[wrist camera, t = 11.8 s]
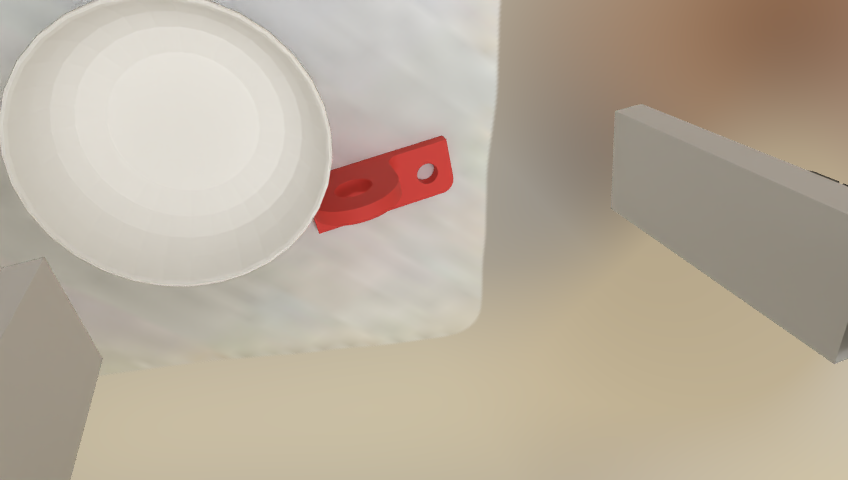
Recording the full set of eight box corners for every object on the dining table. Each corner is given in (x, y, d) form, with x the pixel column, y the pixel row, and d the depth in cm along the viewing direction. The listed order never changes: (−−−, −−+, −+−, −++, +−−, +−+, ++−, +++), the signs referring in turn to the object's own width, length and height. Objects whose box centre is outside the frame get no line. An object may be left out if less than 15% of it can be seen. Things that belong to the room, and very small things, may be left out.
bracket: (317, 227, 47) (333, 276, 40) (300, 179, 44) (315, 222, 38) (450, 183, 49) (487, 222, 42) (441, 135, 47) (478, 168, 40)
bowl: (343, 30, 40) (365, 47, 34) (288, 252, 47) (298, 300, 41) (41, -62, 33) (2, -61, 27) (27, 218, 40) (-7, 270, 34)
